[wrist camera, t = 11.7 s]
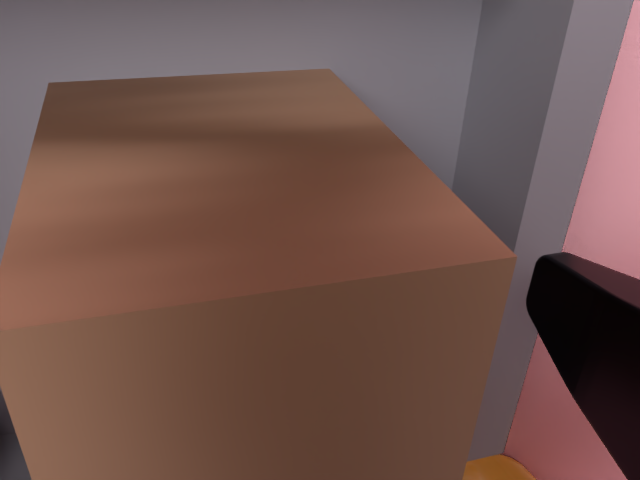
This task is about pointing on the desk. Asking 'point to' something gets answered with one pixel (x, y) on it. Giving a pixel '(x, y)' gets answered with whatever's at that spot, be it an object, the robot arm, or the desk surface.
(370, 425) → the walnut block
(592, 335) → the robot arm
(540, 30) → the tray
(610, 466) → the desk surface
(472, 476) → the plant pot
